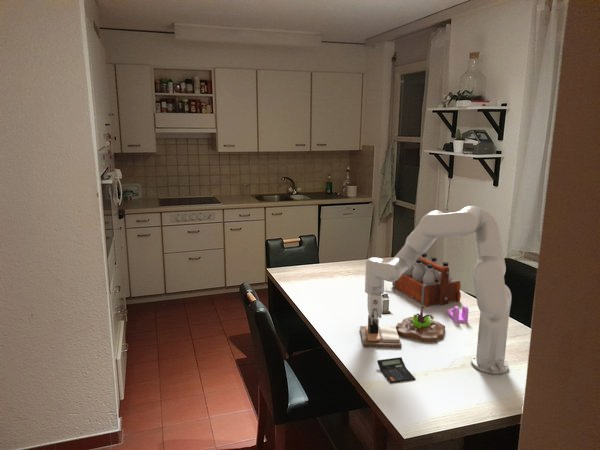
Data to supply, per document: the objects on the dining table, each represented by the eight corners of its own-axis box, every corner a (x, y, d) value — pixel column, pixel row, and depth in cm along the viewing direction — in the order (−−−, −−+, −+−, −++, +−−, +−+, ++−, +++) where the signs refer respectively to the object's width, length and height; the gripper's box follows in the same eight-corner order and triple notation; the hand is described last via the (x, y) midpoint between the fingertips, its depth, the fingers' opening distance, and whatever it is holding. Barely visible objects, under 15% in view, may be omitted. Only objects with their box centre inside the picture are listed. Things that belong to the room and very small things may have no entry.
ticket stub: (380, 340, 183) (381, 324, 182) (368, 340, 183) (368, 324, 182) (377, 327, 195) (377, 312, 193) (365, 327, 195) (366, 312, 194)
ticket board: (401, 347, 181) (401, 341, 180) (363, 346, 182) (363, 340, 181) (395, 330, 197) (395, 324, 196) (360, 329, 198) (360, 323, 197)
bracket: (467, 322, 204) (468, 308, 203) (455, 322, 204) (456, 308, 203) (456, 311, 217) (457, 297, 216) (445, 311, 217) (446, 297, 215)
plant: (451, 328, 199) (452, 304, 196) (437, 346, 183) (439, 320, 180) (406, 318, 209) (407, 295, 207) (390, 334, 193) (391, 309, 191)
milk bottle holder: (422, 281, 259) (423, 248, 255) (463, 303, 227) (466, 265, 223) (389, 285, 252) (390, 251, 248) (427, 309, 220) (430, 270, 215)
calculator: (390, 384, 156) (390, 376, 156) (376, 367, 167) (377, 359, 167) (415, 380, 158) (415, 372, 158) (400, 364, 169) (400, 356, 169)
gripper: (386, 296, 176) (384, 338, 180) (381, 281, 193) (379, 320, 197) (366, 296, 177) (365, 338, 180) (363, 281, 194) (362, 319, 197)
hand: (373, 328), depth 189 cm, fingers open, 8 cm apart
